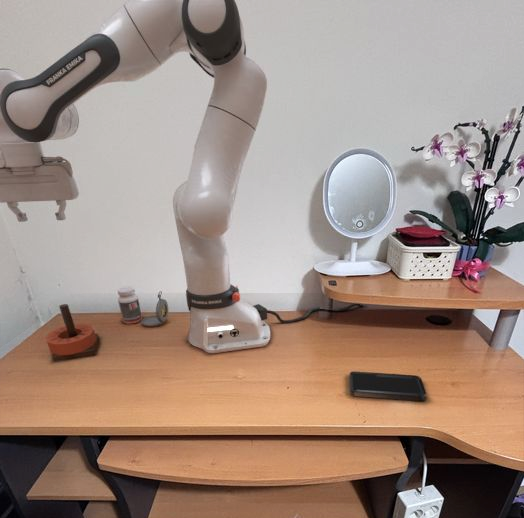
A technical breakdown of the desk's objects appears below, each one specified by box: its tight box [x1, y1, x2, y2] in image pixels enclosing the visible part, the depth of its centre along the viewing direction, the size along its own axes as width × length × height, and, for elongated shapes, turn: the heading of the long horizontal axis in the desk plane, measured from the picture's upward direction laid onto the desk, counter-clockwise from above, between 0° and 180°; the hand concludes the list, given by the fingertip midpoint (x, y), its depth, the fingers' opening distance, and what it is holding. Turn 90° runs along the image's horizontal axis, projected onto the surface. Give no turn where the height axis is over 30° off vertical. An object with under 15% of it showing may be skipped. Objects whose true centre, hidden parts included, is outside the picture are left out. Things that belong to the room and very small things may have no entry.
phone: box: [348, 370, 427, 402], centre depth 80 cm, size 8×1×15 cm
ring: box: [44, 323, 97, 355], centre depth 98 cm, size 11×11×3 cm
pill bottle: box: [117, 286, 143, 325], centre depth 112 cm, size 6×6×10 cm
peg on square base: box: [51, 303, 100, 362], centre depth 97 cm, size 10×10×12 cm
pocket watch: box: [140, 291, 169, 328], centre depth 109 cm, size 8×8×10 cm
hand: (42, 220), depth 93 cm, fingers open, 8 cm apart
